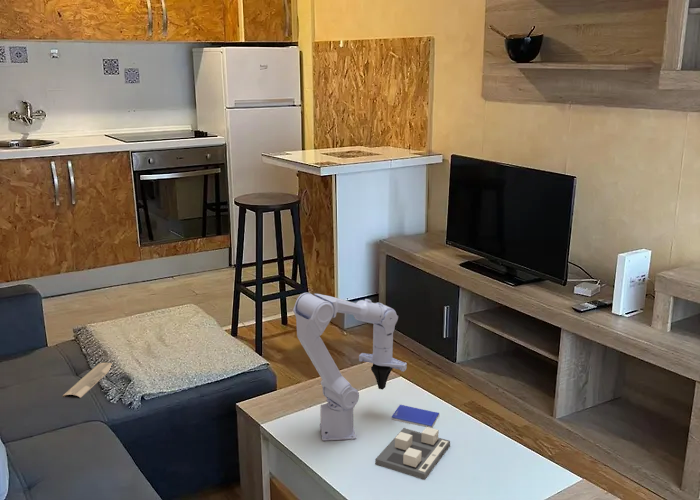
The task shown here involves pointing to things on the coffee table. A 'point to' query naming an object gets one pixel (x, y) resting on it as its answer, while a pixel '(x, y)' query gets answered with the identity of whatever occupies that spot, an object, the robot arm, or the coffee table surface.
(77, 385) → the tan wooden bar
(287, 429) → the coffee table surface
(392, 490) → the coffee table surface
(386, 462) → the switch bank
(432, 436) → the tab
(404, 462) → the tab
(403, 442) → the tab
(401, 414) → the hard drive
